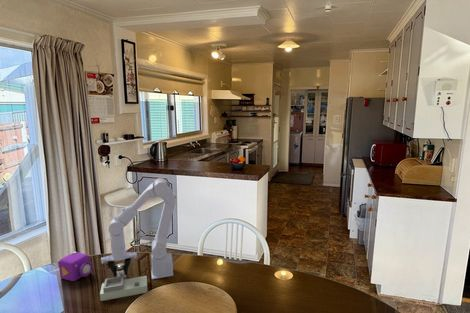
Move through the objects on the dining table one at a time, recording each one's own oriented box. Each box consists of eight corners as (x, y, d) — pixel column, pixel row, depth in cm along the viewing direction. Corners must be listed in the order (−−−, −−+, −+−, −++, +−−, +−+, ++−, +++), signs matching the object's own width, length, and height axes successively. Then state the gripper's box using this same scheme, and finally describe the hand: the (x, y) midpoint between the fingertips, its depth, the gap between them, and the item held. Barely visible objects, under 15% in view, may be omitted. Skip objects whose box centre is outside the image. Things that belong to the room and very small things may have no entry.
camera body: (147, 281, 134) (146, 271, 133) (147, 292, 126) (146, 281, 125) (102, 289, 129) (101, 278, 128) (100, 301, 121) (99, 289, 120)
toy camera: (83, 284, 133) (81, 263, 131) (56, 281, 136) (54, 260, 134) (99, 271, 143) (97, 251, 142) (73, 268, 146) (71, 249, 144)
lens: (126, 274, 138) (125, 262, 137) (126, 279, 134) (124, 267, 133) (116, 276, 137) (115, 264, 136) (115, 281, 133) (114, 268, 132)
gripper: (135, 240, 139) (138, 267, 141) (101, 245, 134) (104, 273, 137) (135, 246, 132) (138, 275, 134) (99, 252, 128) (102, 281, 130)
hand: (120, 275), depth 135 cm, fingers closed on lens, 4 cm apart
